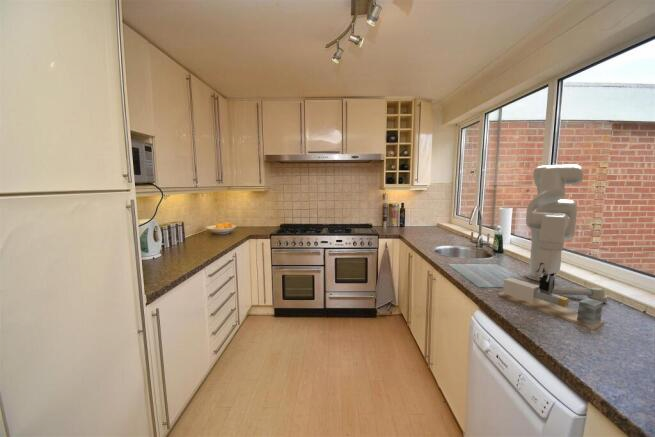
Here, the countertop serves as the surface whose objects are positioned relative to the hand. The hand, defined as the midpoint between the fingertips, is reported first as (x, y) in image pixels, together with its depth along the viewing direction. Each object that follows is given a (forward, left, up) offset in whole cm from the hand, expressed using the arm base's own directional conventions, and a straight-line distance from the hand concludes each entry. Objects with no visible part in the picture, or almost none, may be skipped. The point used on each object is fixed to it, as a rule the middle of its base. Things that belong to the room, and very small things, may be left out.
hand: (546, 288), depth 110 cm
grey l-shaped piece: (0, -3, -5) cm, 6 cm away
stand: (0, 0, -8) cm, 8 cm away
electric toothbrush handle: (-21, -1, -9) cm, 23 cm away
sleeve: (0, -9, -7) cm, 12 cm away
